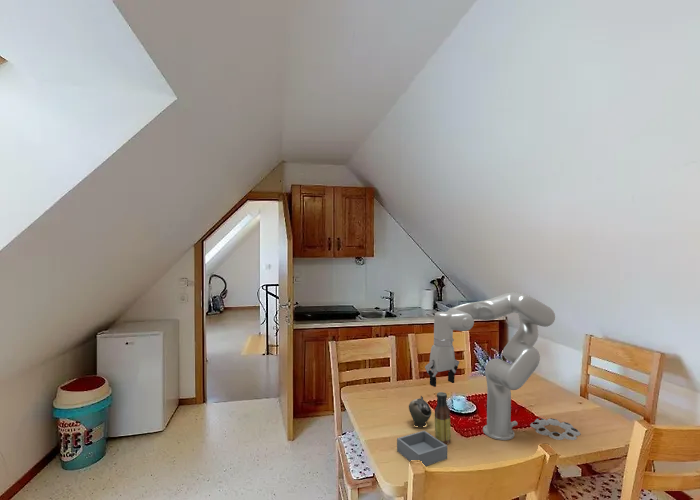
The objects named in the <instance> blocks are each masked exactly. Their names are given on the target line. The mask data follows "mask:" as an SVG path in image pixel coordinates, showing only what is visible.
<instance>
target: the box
mask: <svg viewBox="0 0 700 500" xmlns="http://www.w3.org/2000/svg"><path fill="white" fill-rule="evenodd" d="M396 451H397V452H398V453H399V454H400V455H402V457H404V458H405V459H406V458H407V459H406V460H407V461H409V462H410V461H411V460H420V461H422V463H423V464H424V465H425V467H427V466H430V465H433V464H436V463H439V462H442V461H445V460H447V459H448V444H444V443H443V442H441V441H440V440H438V439H437V438H435V435H432V434H430V433H429V432H427V431H426V430H421V431H418V432H415V433H410V434H407V435H404V436H401V437H397V438H396Z"/></svg>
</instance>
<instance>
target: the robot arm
mask: <svg viewBox="0 0 700 500" xmlns="http://www.w3.org/2000/svg"><path fill="white" fill-rule="evenodd" d="M513 313H514V314H518V319H519V320H518V321H519V326H518V329H517V330H516V332H515V334H514V335H513V336H512V337H511V338H510V340H508V342H507V344H506V345H505V346H504V347H503V351H502V355H503V357H504V358H505V359H506V361H505V360H503V359H500V358H492V359H490V360H488V361H487V362H486V364H485V369H484V373H485V378H486V387H487V388H486V391H487V392H486V393H487V395H486V424H485V425H484V426H483V427H482V432H483V434H484V435H485V436H487V437H489V438H492V439H495V440H499V441H509V440H513V438H515V431H514V430H513V428H514V427H516V426H518V422H517V421H516V420H514V421H511V416H512V415H511V414H512V413H511V411H512V406H511V405H512V392H511V391H516V390H519V389H521V388H522V387H523V386H524V384H526V382H527V381H528V380H529V378H530V377H531V376H532V374H533V373H534V372H535V371H536V369H537V368H538V366H539V365H540V360H541V355H540V353H539V351H538V349H537V348H535V347H534V345H535V344H536V342H537V341H538V338H539V329H538V328H539V327H538V326H540V327H546V328H547V327H549V326H552V325H553V324H554V323H555V320H556V314H555V312H554V310H553V309H552V308H551V307H550V306H548V305H546V304H545V303H542V302H540V300H537V299H536V298H535V297H532V296H531V295H528V294H525V293H521V292H520V293H519V292H515V291H514V292H513V291H511V292H506V293H503V294H499V295H497V296H495V297H492V298H488V299H486V300H480V301H475V302H469V303H464V304H460V305H456V306H453V307H451V308H448V310H447V311H436V312H435V313H434V316H433V317H434V318H433V319H434V320H433V345H431V348H430V354H429V362H428V363H427V364H426V365H425V366H424V368H425V371H426V373H427V374H428V376H429V385H430V386H431V387H433V388H436V387H437V377H436V375H438V373H441V372H445V371H447V381H448V382H450V383H452V384H455V374H457V370H458V368H459V367H458V366H459V365H460V361H459V360H458V359H456V357H455V348H454V345H453V342H454V341H455V339H454V338H453V337H454V331H460V332H465V331H466V332H467V331H470V330H471V329H472V328H473V327H474V324H475V320H483V321H492V320H496V319H499V318H501V317H504V316H507V315H510V314H513ZM507 361H509V362H511V363H509V362H507Z"/></svg>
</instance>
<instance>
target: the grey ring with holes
mask: <svg viewBox="0 0 700 500" xmlns="http://www.w3.org/2000/svg"><path fill="white" fill-rule="evenodd" d="M539 419H541V420H539ZM533 423H534V424H533ZM535 423H537V424H535ZM529 425H530V427H531V428H533V429H535V432H536V433H537V434H538V435H541V436H548V437H550V438H551V439H554V440H557V441H559V440H560V441H561V440H562V441H563V440H564V439H565V440H571V441H575V440H577V439H578V438H577V436H578V437H579V436H580V435H581V432H580V431H579V430H578V429H576V428H575V427H574V426H573V425H572V424H571V423H569V422H565V421H563V422H560V420H558V419H556V418H553V417H552V418H548V419H545V418H540V417H538V418H536V419H535V420H534V421H533V422H531V423H530V424H529ZM549 425H552V426H557V427H560V428H561V429H564V432H562V433H560V432H558V431H550V430H549V429H547V428H546V426H549ZM540 429H541V430H542V431H541V430H540ZM554 434H555V435H554ZM569 434H570V435H571V436H570V435H569ZM556 435H559V436H556Z"/></svg>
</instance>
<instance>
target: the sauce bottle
mask: <svg viewBox="0 0 700 500" xmlns="http://www.w3.org/2000/svg"><path fill="white" fill-rule="evenodd" d="M436 398H437V399H436V401H437V402H436V407H434V437H435V438H437V439H438V440H440V441H441V442H443V443H444V444H446V445H448V444H450V443H451V438H452V437H451V435H452V434H451V433H452V431H451V411H450V408H449V406H448V404H447V403H448V402H447V398H448V394H447V393H446V392H442V391H438V392H437V393H436Z"/></svg>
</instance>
